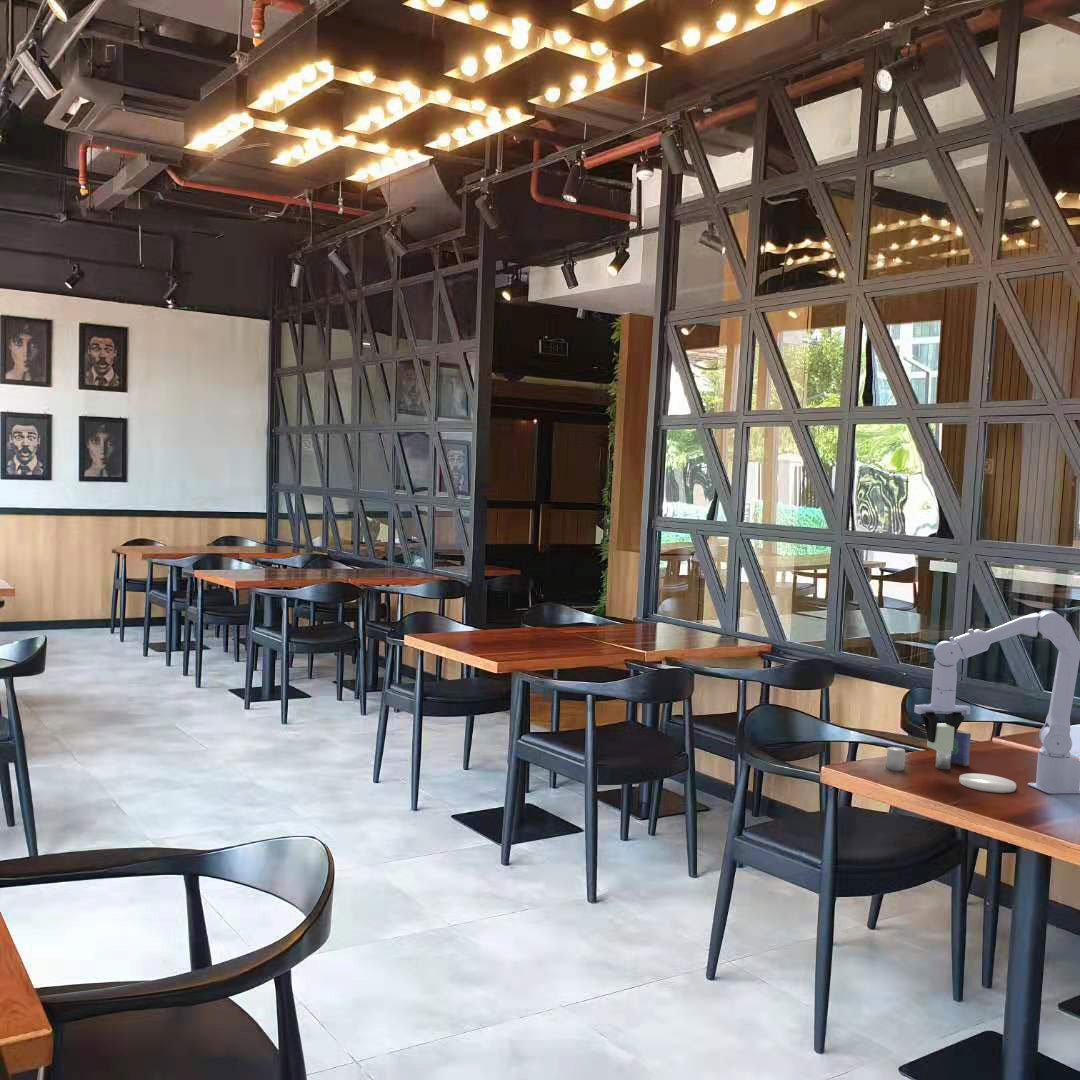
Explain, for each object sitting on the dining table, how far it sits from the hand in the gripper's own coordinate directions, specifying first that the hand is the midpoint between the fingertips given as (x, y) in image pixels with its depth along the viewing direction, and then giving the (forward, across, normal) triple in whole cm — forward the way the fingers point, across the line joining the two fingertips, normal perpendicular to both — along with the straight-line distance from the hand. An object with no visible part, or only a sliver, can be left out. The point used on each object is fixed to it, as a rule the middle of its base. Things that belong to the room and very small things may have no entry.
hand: (940, 741), depth 274 cm
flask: (+9, -12, -13) cm, 20 cm away
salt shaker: (+9, -6, -8) cm, 13 cm away
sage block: (+2, 0, 0) cm, 2 cm away
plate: (+9, -8, +9) cm, 15 cm away
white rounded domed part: (+9, +8, -7) cm, 14 cm away
